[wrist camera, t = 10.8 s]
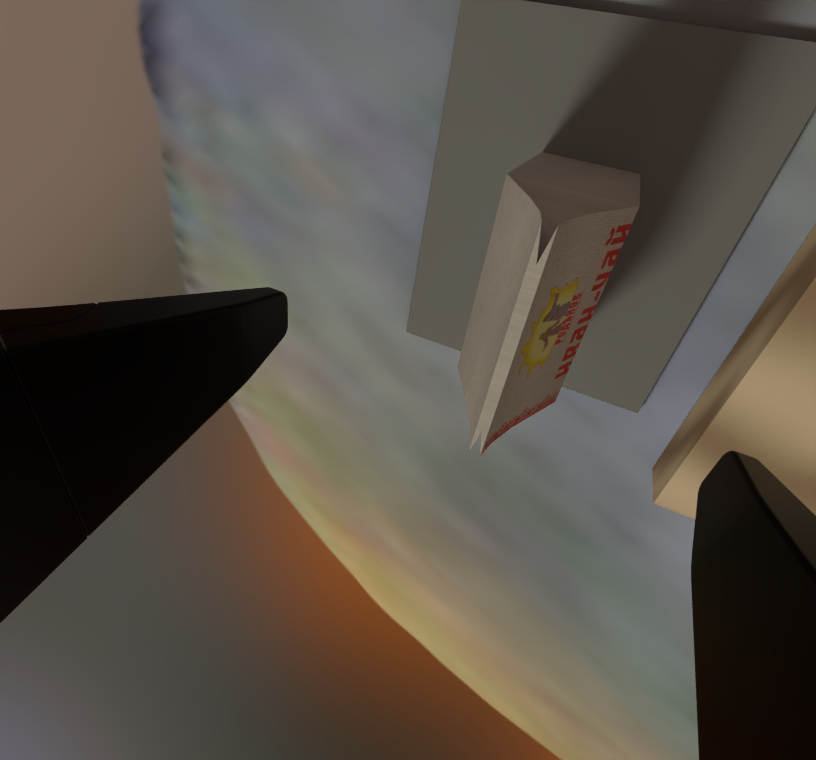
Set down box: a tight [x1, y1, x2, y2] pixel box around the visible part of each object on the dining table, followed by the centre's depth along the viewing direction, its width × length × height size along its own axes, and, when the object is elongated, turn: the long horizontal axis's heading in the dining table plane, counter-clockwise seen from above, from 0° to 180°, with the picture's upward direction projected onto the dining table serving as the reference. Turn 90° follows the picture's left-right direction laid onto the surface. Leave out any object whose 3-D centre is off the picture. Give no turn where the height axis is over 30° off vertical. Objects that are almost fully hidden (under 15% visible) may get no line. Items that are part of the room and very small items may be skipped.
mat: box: [406, 0, 816, 413], centre depth 19 cm, size 14×12×1 cm
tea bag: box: [458, 152, 640, 456], centre depth 15 cm, size 4×7×10 cm, turn 172°
